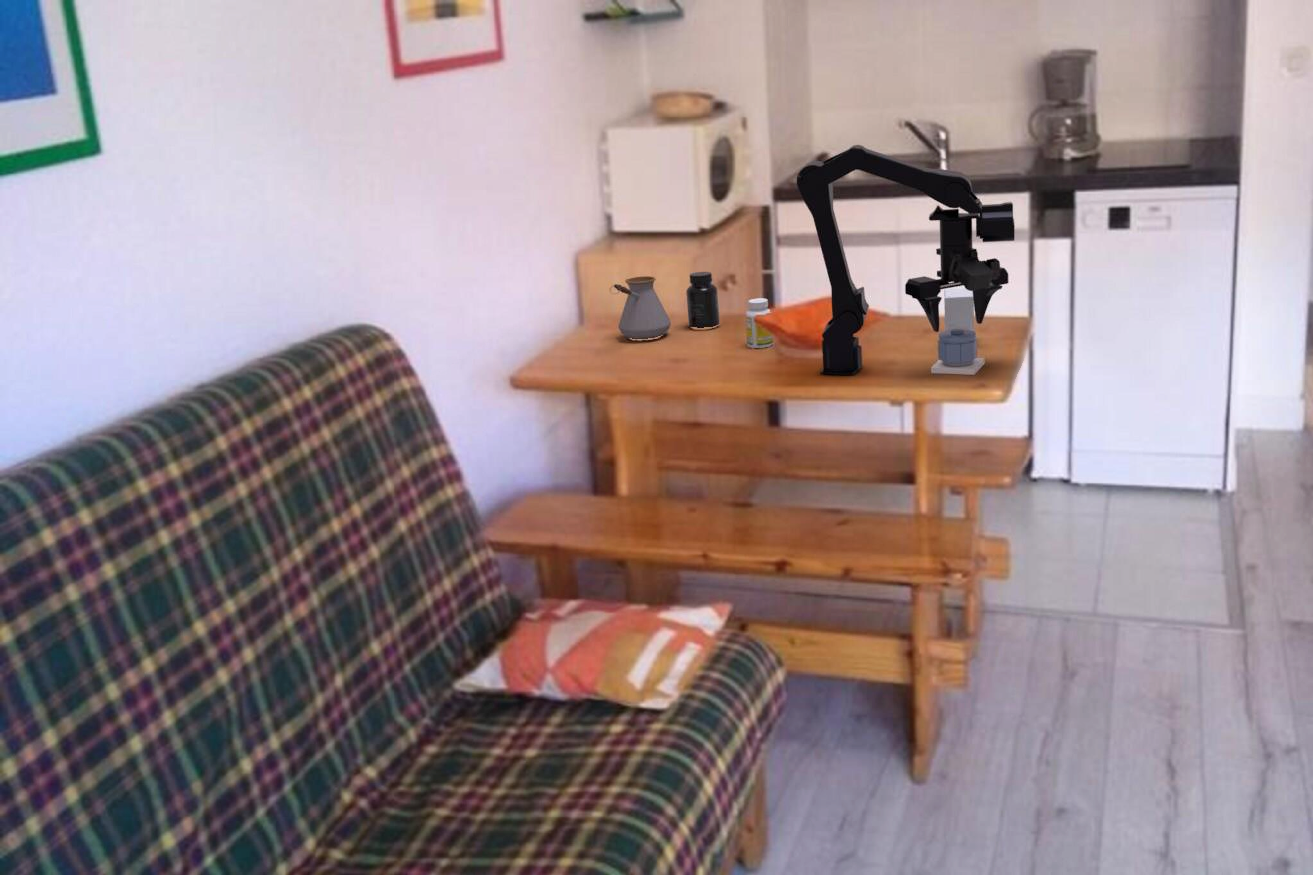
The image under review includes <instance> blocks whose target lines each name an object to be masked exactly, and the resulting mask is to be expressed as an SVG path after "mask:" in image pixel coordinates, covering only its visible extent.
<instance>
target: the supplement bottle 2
mask: <svg viewBox="0 0 1313 875" xmlns="http://www.w3.org/2000/svg"><path fill="white" fill-rule="evenodd" d="M747 303H748V304H747V305H748V308H749V309H748V310H747V311H746V312H745V328H746V331H745V332H746V343H747V344H746V345H747V347H748V348H750V347H751V348H750V349H754V348H760V349H766V348H765V347H768V348H770V347H771V346H770V345H772V344H773V345H774V335H773V336H772V335H771V334H770V333H768V332H767V331H765V330H764V329H762V327H760V326H758V325H757V324H756V323H755V322H754V317H755V316H756V315H765V314H767V313H772V311H771V310H770V309H769V308H768V306H769V300H768V299H767V298H752V299H749V300H748V301H747ZM770 311H771V312H770ZM773 345H772V346H773ZM769 346H770V347H769Z"/></svg>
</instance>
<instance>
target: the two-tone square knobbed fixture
mask: <svg viewBox="0 0 1313 875" xmlns="http://www.w3.org/2000/svg"><path fill="white" fill-rule="evenodd" d="M984 364H986V360H985V357H976V358H975V360H973V361H968V362H962V363H953V362H944V361H942V360H939V359H938V360H937V361H936V362H935V363H934V364H933V365H932V367H930V372H931V374H940V375H941V374H943V375H944V374H946V375H948V374H950V375H965V376H966V375H967V376H968V375H969V376H970V375H971V376H974V375H976V374H977V373H978V371H979V370H981V368H982V367H983V366H984Z"/></svg>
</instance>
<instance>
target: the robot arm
mask: <svg viewBox="0 0 1313 875" xmlns="http://www.w3.org/2000/svg"><path fill="white" fill-rule="evenodd" d="M800 169H801V170H800V171H799V172H798V174H797V176H796V186H797V189H798V191H799V193H800V196H801V198H802V200H803V202H804V203H805V205H806V207H807V209H808V211H809V213H810V214H811V216H812V219H813V222H814V227H815V232H816V234H817V237H818V238H817V239H818V242H819V246H820V250H821V253H822V254H821V255H822V257H823V262H824V264H825V268H826V273H827V276H828V279H829V284H830V289H831V290H830V291H831V293H830V294H831V314H832V315H831V316H832V318H830V320H829V321H828V322H827V323H826V324H825V327H824V330H823V331H822V334H821V337H822V340H821V348H822V349H821V350H822V367H823V368H822V369H821V370H820V371H819V373H820V374H822V375H837V376H838V375H839V376H853V375H855V374H856V373H857V372H858V371H860V370H861V369H862V368H863V366H864V365H863V353H862V352H863V351H862V348H863V347H862V345H859V344H860V342H859V339H860V338H859V336H854V334H857V333H858V332H860V331H861V329H862V328H863V327H864V323H865V320H866V317H867V313H868V310H869V308H870V304H868V302H867V300H866V295H865V287H864V286H862V287H859V288H857V286H856V285H855V284H854V282H853V280H852V276H851V273H850V269H849V265H848V261H847V256H846V253H845V249H844V246H843V241H842V237H841V234H840V229H839V226H838V221H837V218H836V217H837V216H836V213H835V210H834V188H833V183H834V182H836V181H838V180H840V179H841V178H843V177H845V176H847V175H848V174H849V175H850V174H851V173H852V172H854V171H856V170H858V171H860V172H864V173H867V174H869V175H870V174H871V175H872V176H876V177H879V178H882V179H885V180H888V181H891V182H894V183H897V184H900V185H904V186H906V187H909V188H912V189H915V190H918V191H919V192H921V193H923V194H924V195H925V196H928V197H930V198H931V199H932V200H934V201H936V202H937V203H940V204H941V205H943V206H945V207H946V209H943V208H942V207H941V206H940V205H936V206H935V209H934V210H933V211H932V212H931V213H930V214H929V216H928V220H929V221H930V222H932V221H933V222H934V221H935V222H936V221H939V248H936V249H935V250H936V253H935V254H936V255H938V256H939V258H940V270H936V277H938V278H939V279H936V278H932V277H929V276H924V275H923V276H920V277H919V276H918V277H913V278H908V280H907V281H906V283H905V285H904V286H905V287H904V291H905V295H908V296H911V298H912V299H914V300H915V299H916V300H917V301H918V303H919V305H920V306H921V308H922V310H923V312H924V313H925V315H926V318H927V320H928V321H929V324H930V326H931V327H932V329H933V331H934V333H935V332H936V333H940V332H939V331H940V308H939V306H940V303H941V301H942V298H943V297H941V296H939V294H940V293H941V292H942V290H945V289H950V288H951V289H953V288H957V287H962V286H963V287H964V289H967V290H969V291H973V299H974V318H975V321H976V324H979V325H981V324H983V321H984V318H985V314H986V311H987V309H988V307H989V304H990V302H991V299H992V297H993V295H994V294H995V293H997V291H999V290H1001V289H1003V285H1008V284H1009V272H1008V270H1007V269H1006V268H1005V267H1002V266H1001V264H1000V260H999V259H998V258H996V257H995V258H989V259H986V260H980V259H979V256H978V254H979V253H978V250H977V248H974V247H973V219H974V220H975V236H976V237H977V238H979V239H981V240H982V243H991V242H1015V218H1014V204H1013V202H1011V201H1006V202H1002V203H995V204H994V203H993V204H991V203H990V204H983V203H982V201H981V200H980V198H978V196H977V195H976V194H975V192H974V191H973V190H972V189H973V188H972V182H971V180H970V178H969V176H968V175H967V174H965V173H964V172H961V171H957V170H949V169H944V168H941V169H940V168H930V167H929V168H928V167H923V166H920V165H918V164H915V163H911V162H909V161H905V160H902V159H899V158H897V157H894V156H890V155H887V154H884V153H881V152H878V151H876V150H872V149H869V148H866V147H865V146H864V145H860V144H855V145H852V146H851V147H849V148H848V149H846V150H845V151H842V152H840V153H838V154H836V155H833V156H832V157H829V158H827V159H825V160H824V161H820V160H812V161H810V162H808V163H806V164H805V165H804V166H803V167H802V168H800ZM947 208H949V209H947ZM959 208H960V209H961V210H963V211H964V212H961V213H960V209H959ZM965 212H966V213H965Z"/></svg>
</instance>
